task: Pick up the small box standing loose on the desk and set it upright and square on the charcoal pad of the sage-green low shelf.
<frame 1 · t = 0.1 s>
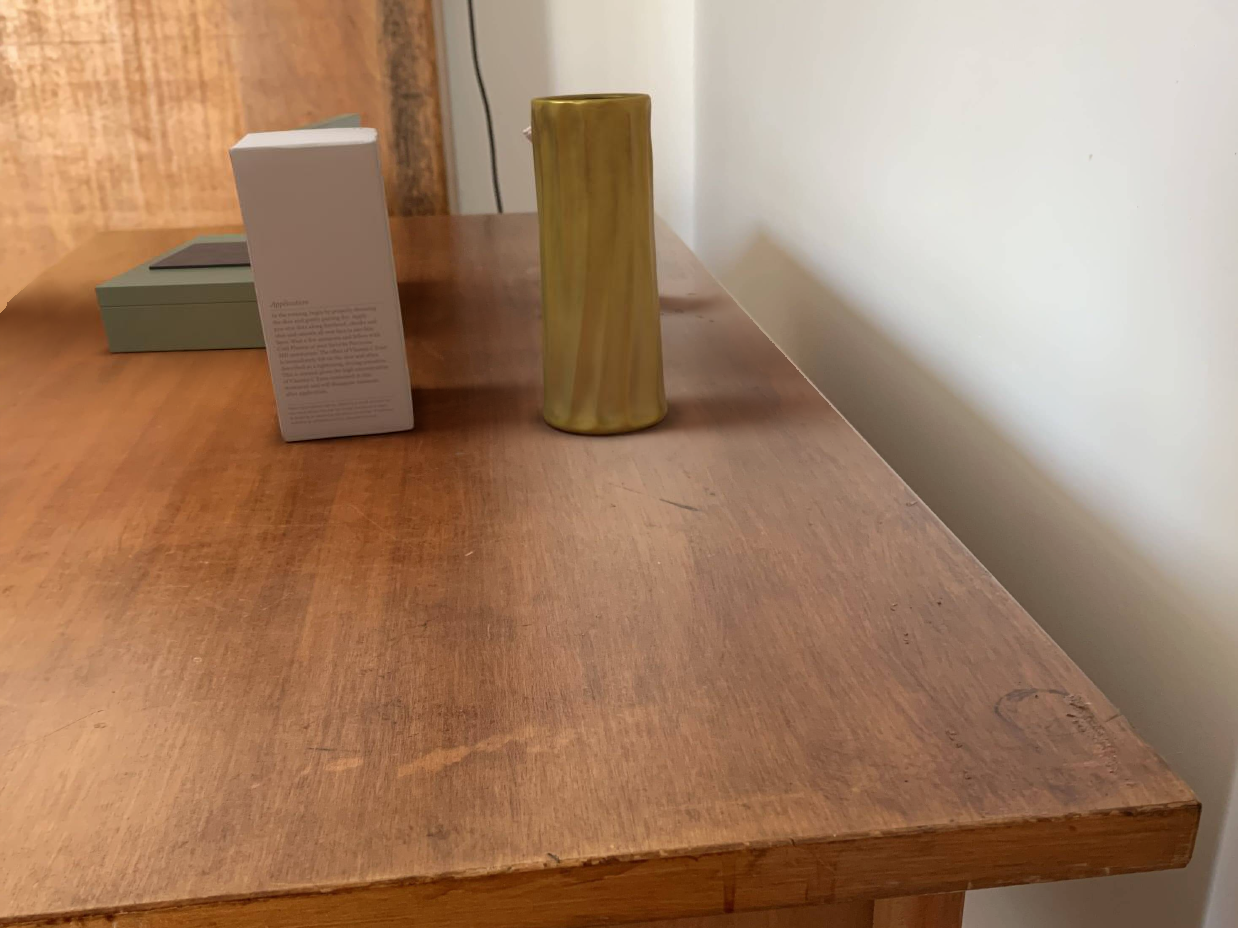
vase: (605, 420, 57), on the table
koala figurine: (595, 311, 79), on the table
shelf: (251, 314, 81), on the table
small box: (350, 417, 59), on the table
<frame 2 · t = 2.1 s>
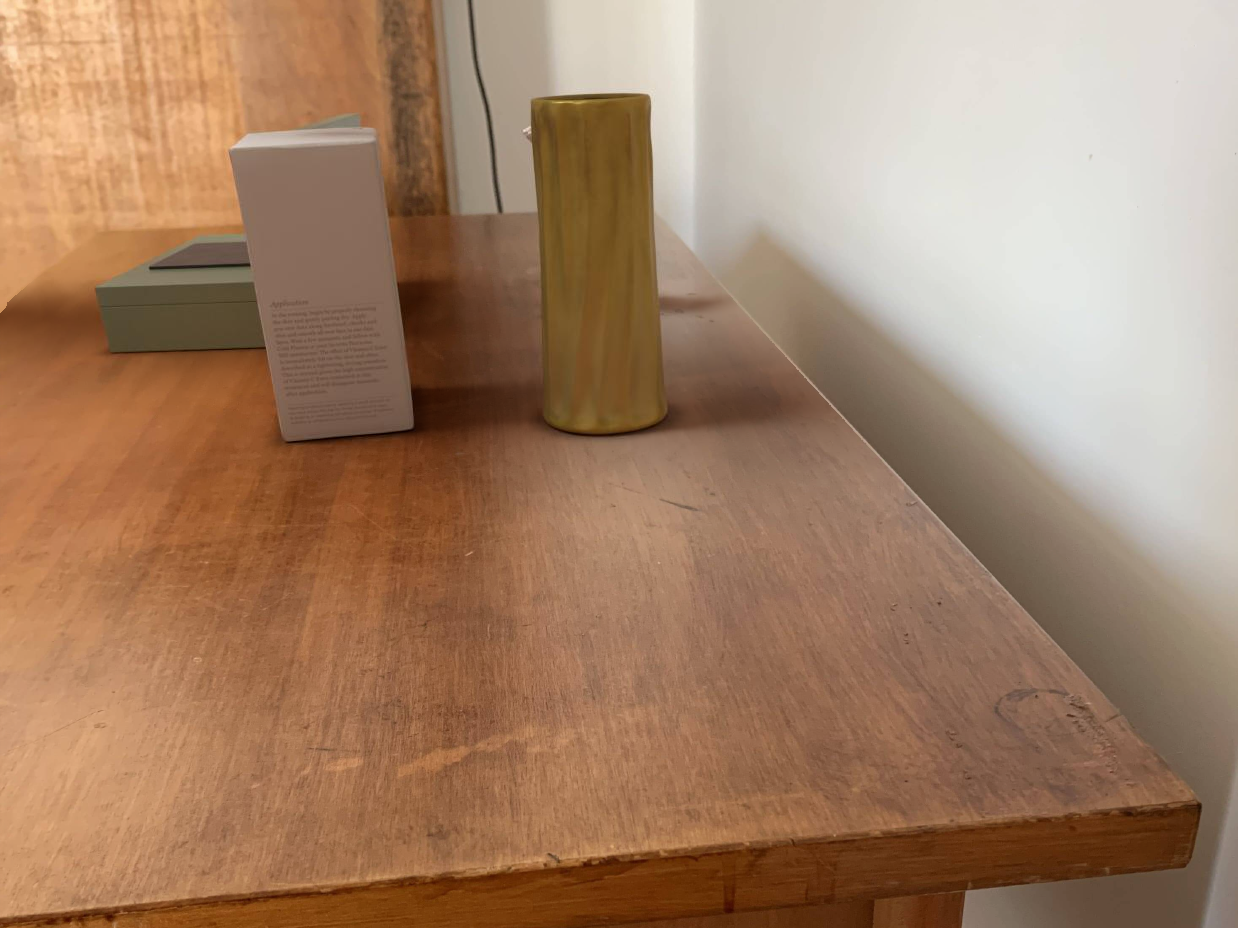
nothing on the table moved.
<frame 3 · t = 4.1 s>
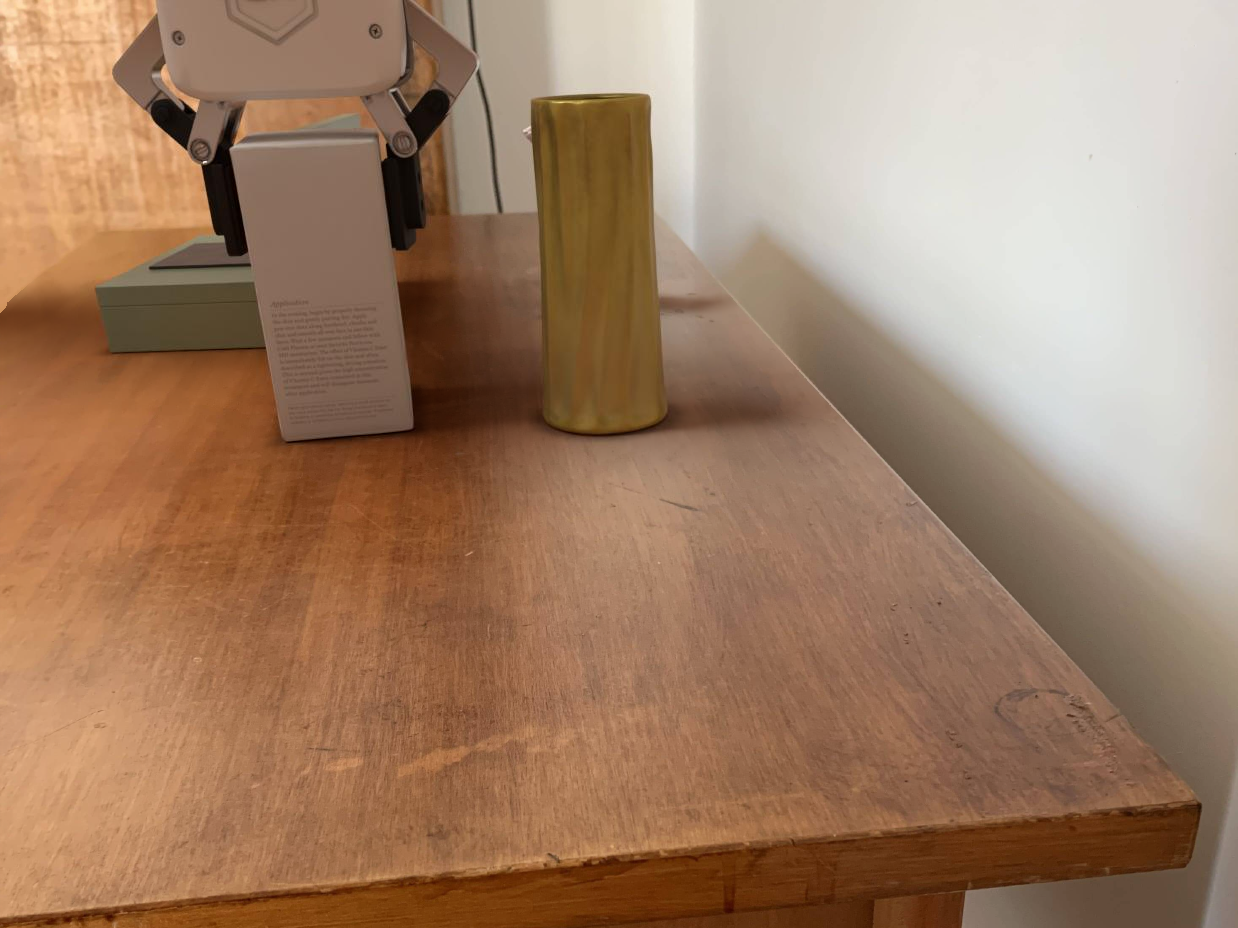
hand: (324, 245, 55), 8 cm above the table, tool pointing down, fingers closed on small box, 7 cm apart
small box: (349, 417, 59), on the table, touching gripper
everything else where it was.
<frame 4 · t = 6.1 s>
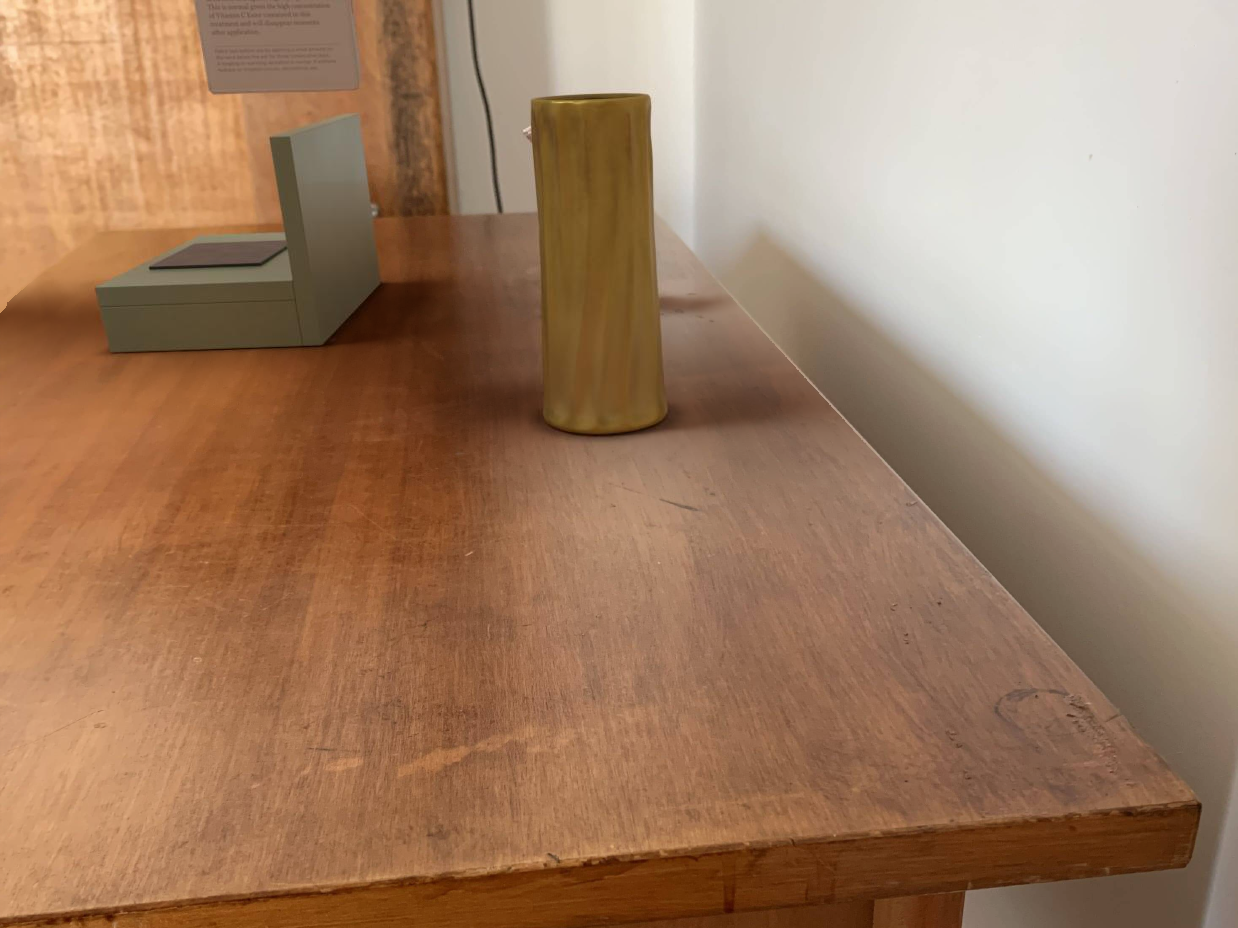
small box: (290, 93, 52), point 15 cm above the table, touching gripper
everything else where it was.
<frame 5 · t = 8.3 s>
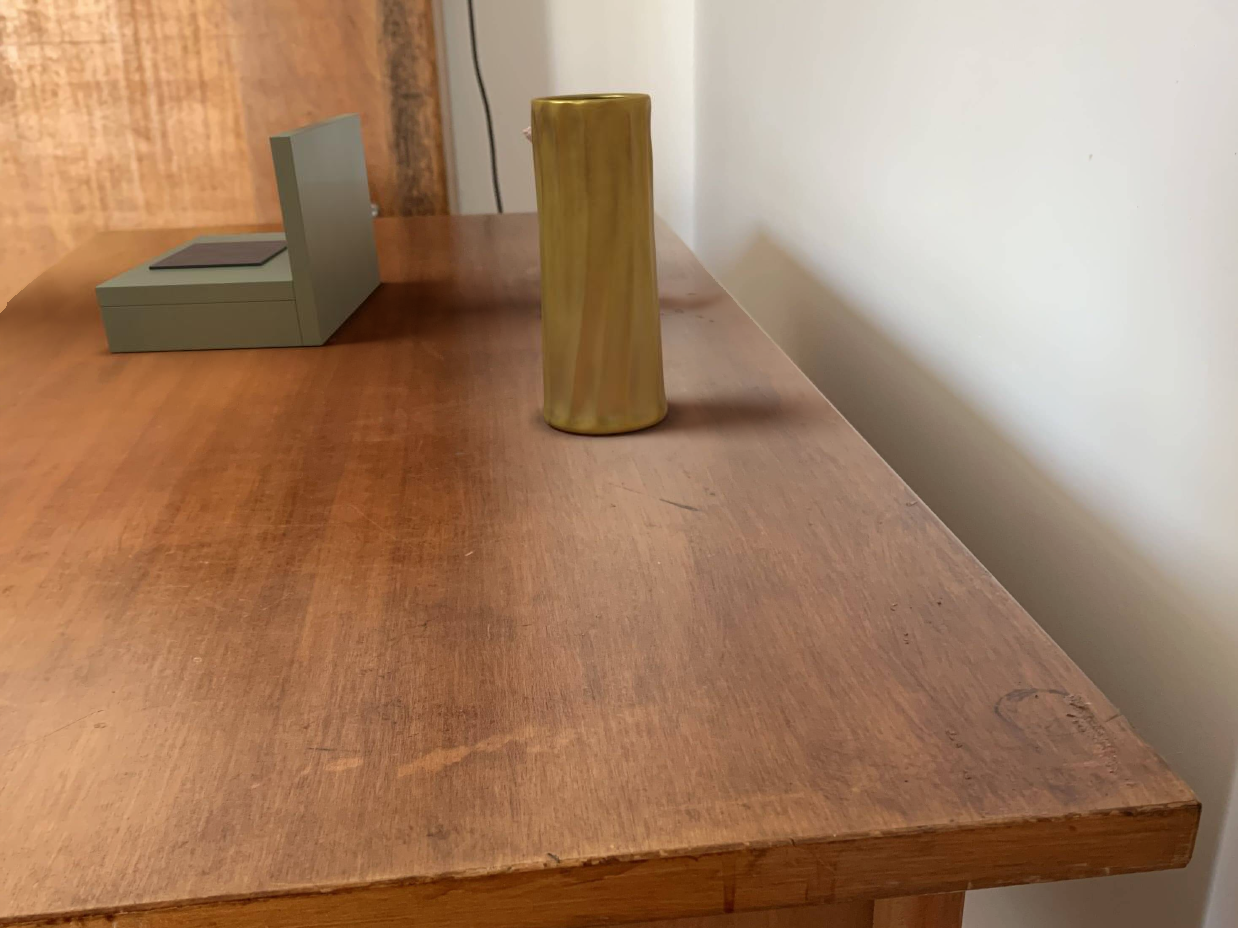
small box: (185, 2, 70), point 19 cm above the table, touching gripper
everything else where it was.
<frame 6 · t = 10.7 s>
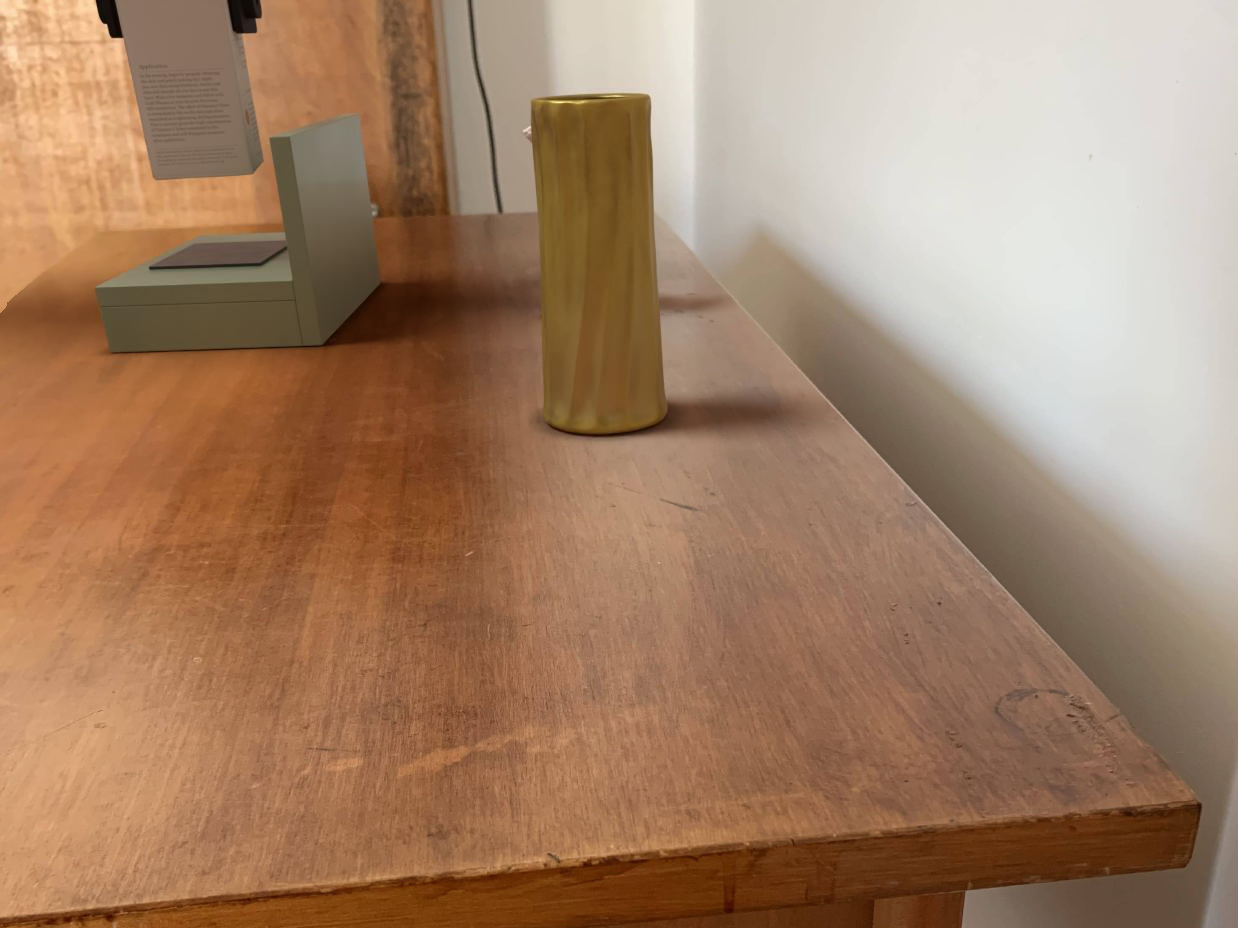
hand: (184, 33, 73), 17 cm above the table, tool pointing down, fingers closed on small box, 7 cm apart
small box: (211, 175, 77), point 9 cm above the table, touching gripper
everything else where it was.
when the fingers open (12 cm above the table, at t = 12.5 s): small box stays where it is, resting on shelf.
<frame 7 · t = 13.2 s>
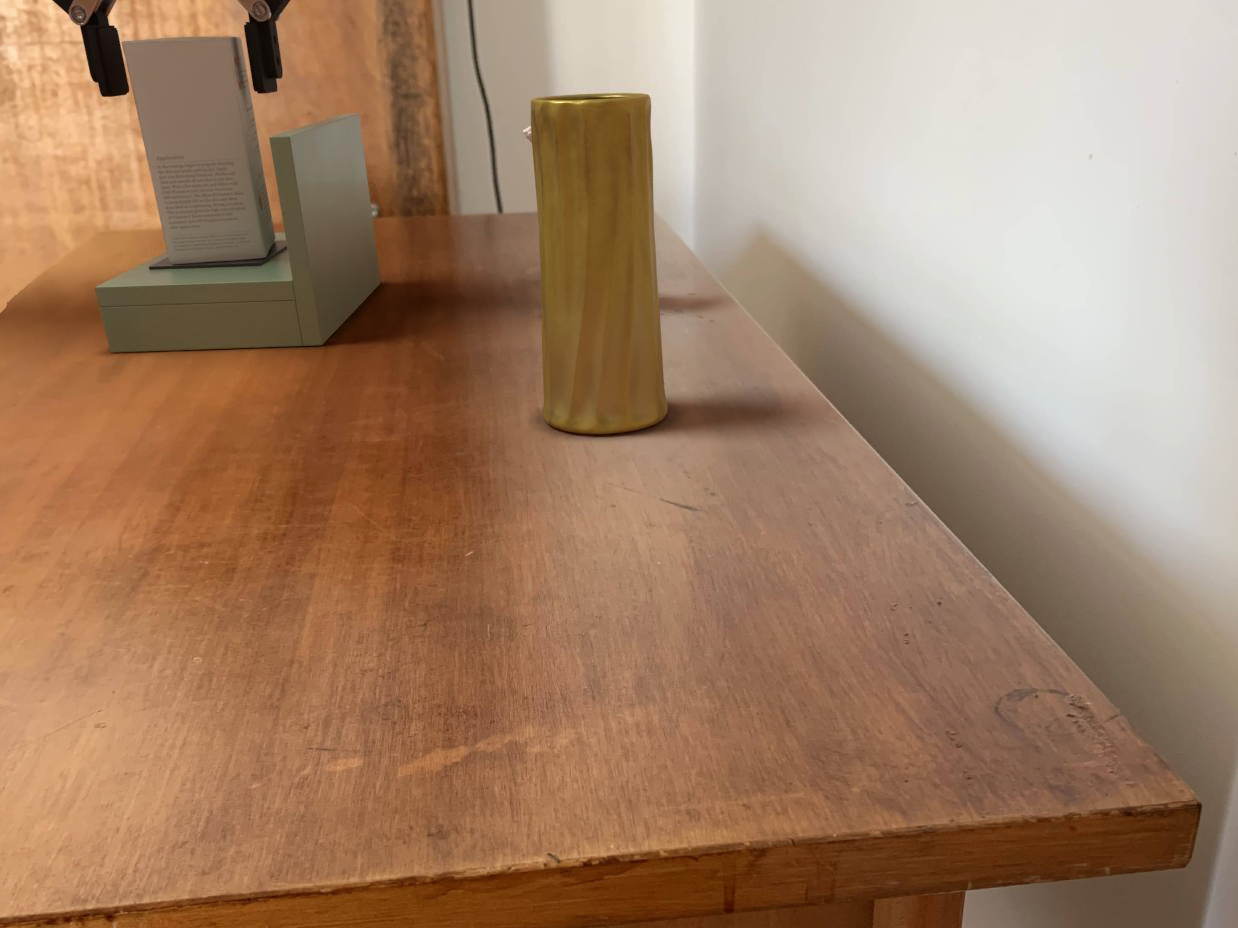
hand: (191, 94, 75), 14 cm above the table, tool pointing down, fingers open, 9 cm apart
small box: (225, 255, 79), point 4 cm above the table, touching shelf
everything else where it was.
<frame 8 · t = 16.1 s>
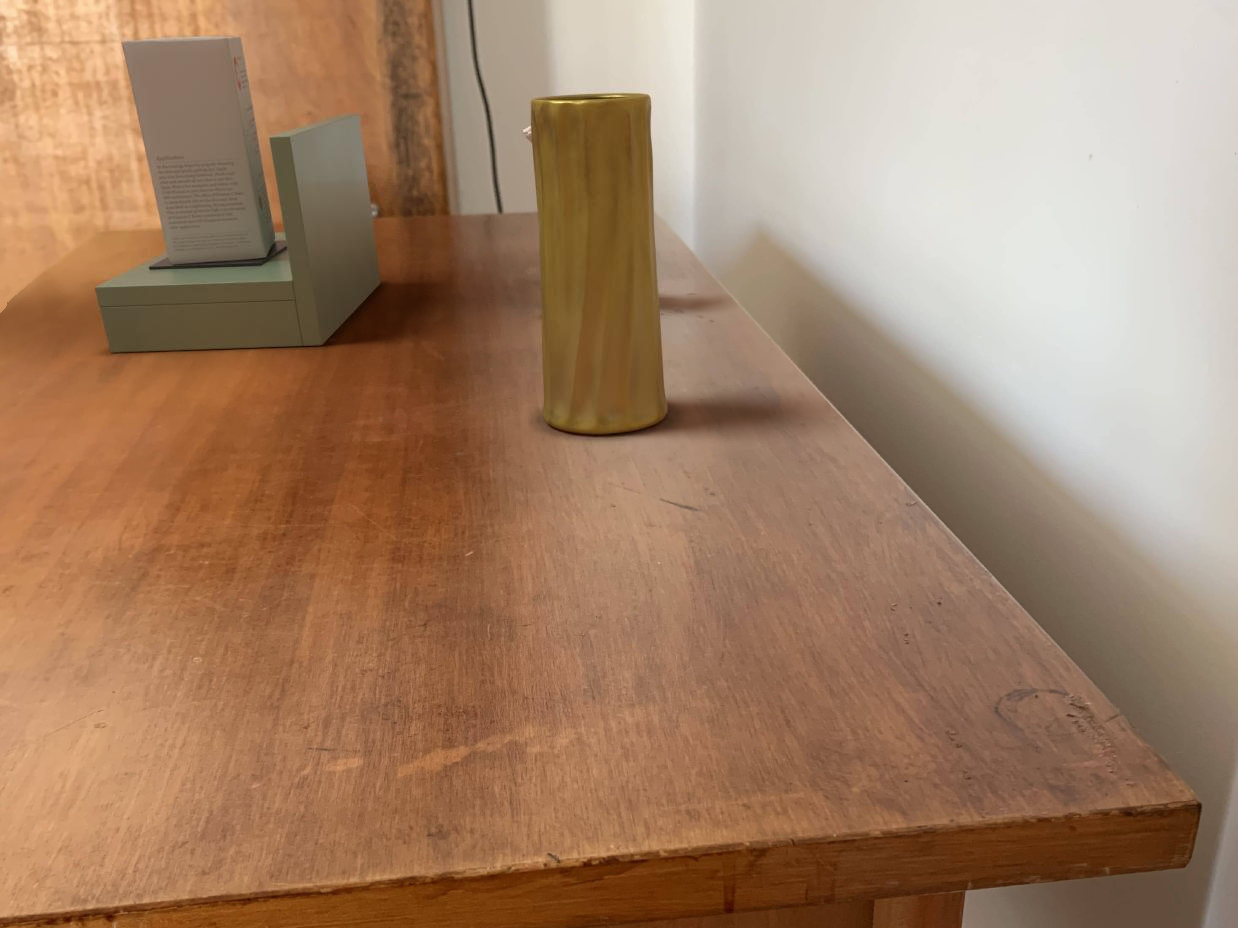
nothing on the table moved.
at the end: small box 0.1 cm from the target spot on the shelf, point 4.0 cm above the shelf's base; small box tilted 0°; the gripper is holding nothing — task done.
